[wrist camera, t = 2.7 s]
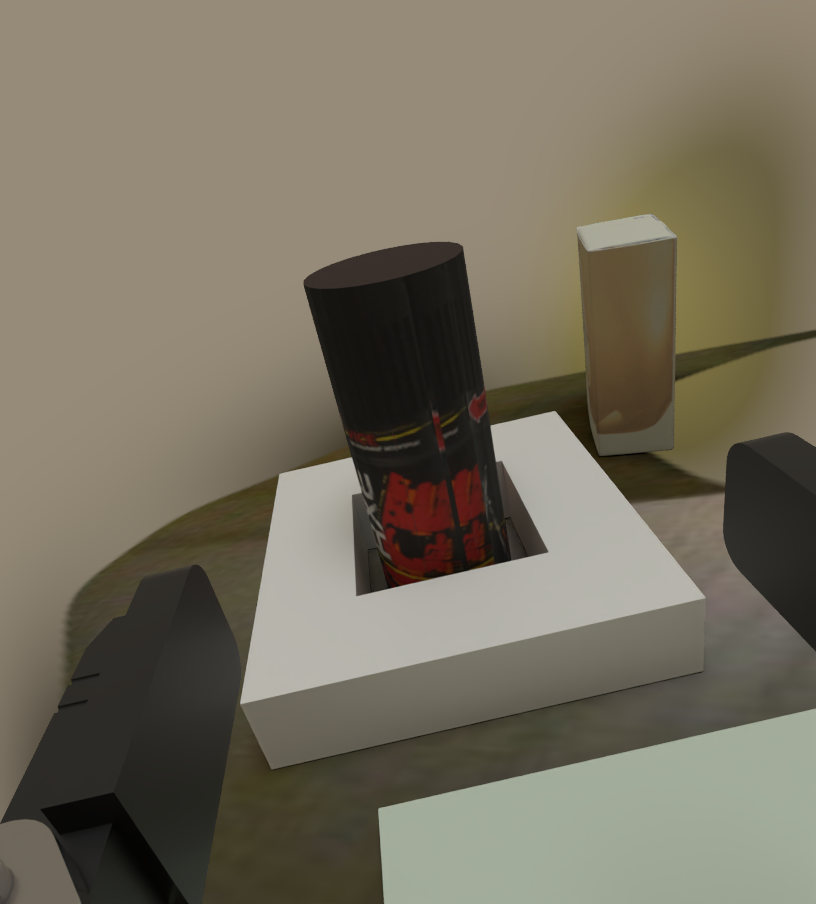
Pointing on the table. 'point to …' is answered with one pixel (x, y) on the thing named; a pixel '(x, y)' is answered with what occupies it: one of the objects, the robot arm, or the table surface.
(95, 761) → the robot arm
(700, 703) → the table surface
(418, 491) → the deodorant
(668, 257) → the skincare box
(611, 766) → the mat
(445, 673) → the socket block
